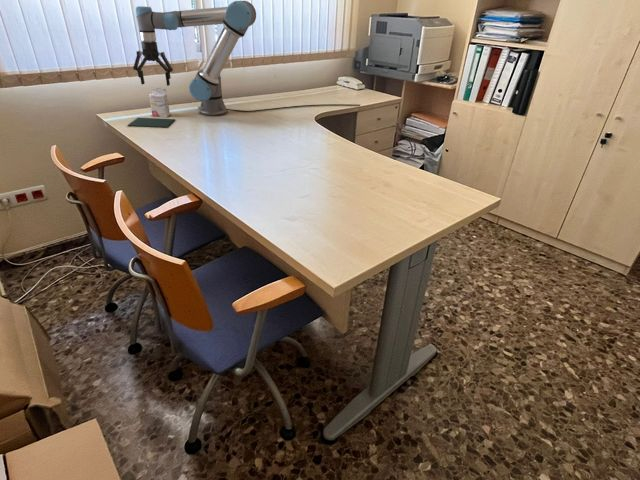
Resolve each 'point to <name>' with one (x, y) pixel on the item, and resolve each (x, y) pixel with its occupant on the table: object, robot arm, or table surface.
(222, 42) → the robot arm
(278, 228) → the table surface
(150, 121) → the desk mat
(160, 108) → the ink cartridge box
